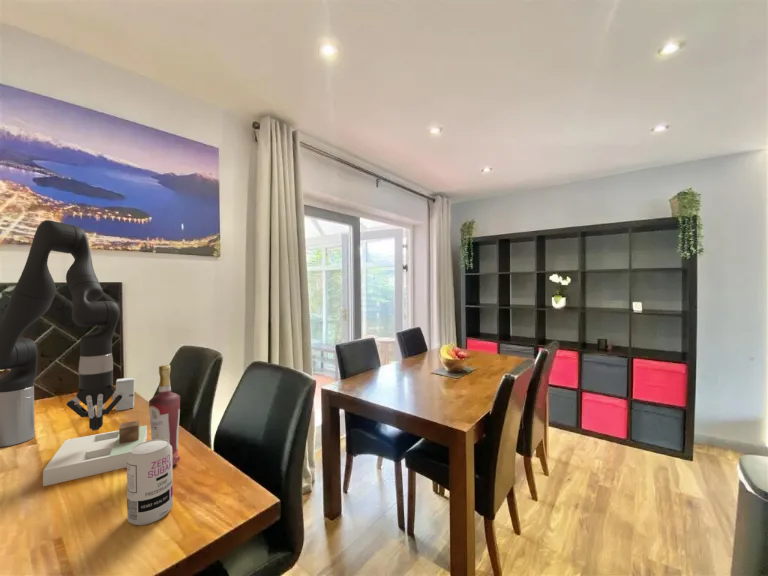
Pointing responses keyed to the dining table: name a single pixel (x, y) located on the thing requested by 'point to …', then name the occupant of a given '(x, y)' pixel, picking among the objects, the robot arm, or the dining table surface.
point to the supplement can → (149, 481)
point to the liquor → (165, 413)
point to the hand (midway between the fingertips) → (96, 429)
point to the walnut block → (129, 432)
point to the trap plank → (89, 456)
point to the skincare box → (125, 393)
